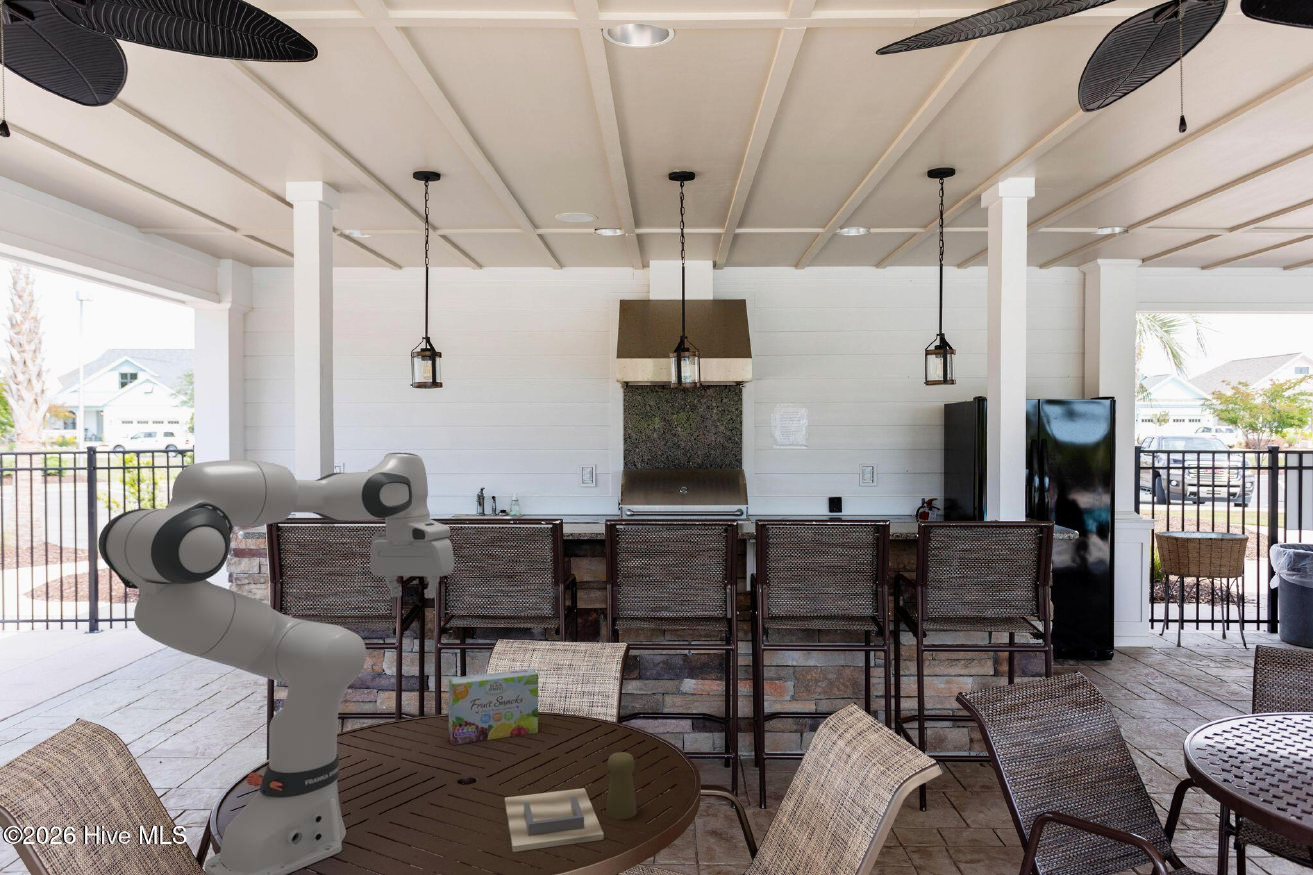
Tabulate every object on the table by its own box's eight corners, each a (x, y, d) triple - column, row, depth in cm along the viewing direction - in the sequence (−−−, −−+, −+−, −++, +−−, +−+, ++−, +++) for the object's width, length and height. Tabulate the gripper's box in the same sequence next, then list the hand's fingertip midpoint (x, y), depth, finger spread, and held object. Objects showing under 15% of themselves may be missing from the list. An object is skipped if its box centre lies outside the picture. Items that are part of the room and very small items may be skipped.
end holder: (523, 813, 145) (523, 802, 145) (576, 806, 148) (576, 796, 148) (528, 835, 137) (528, 824, 137) (584, 828, 139) (584, 817, 139)
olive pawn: (638, 805, 151) (638, 748, 151) (635, 819, 145) (634, 760, 145) (608, 804, 151) (608, 748, 151) (603, 818, 145) (603, 759, 145)
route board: (504, 802, 152) (504, 797, 152) (584, 793, 156) (584, 788, 156) (512, 851, 133) (512, 846, 133) (603, 839, 137) (603, 833, 137)
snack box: (452, 746, 183) (452, 683, 183) (448, 739, 188) (448, 677, 188) (538, 733, 192) (538, 672, 192) (532, 726, 197) (532, 666, 197)
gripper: (360, 533, 161) (365, 599, 161) (434, 531, 152) (439, 601, 152) (383, 529, 167) (387, 592, 167) (456, 527, 158) (461, 594, 157)
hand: (413, 597), depth 159 cm, fingers open, 8 cm apart
